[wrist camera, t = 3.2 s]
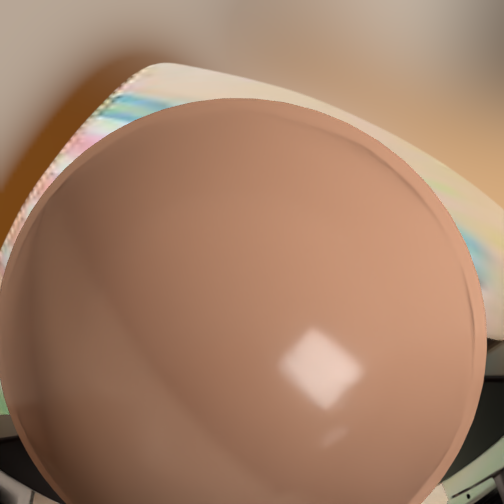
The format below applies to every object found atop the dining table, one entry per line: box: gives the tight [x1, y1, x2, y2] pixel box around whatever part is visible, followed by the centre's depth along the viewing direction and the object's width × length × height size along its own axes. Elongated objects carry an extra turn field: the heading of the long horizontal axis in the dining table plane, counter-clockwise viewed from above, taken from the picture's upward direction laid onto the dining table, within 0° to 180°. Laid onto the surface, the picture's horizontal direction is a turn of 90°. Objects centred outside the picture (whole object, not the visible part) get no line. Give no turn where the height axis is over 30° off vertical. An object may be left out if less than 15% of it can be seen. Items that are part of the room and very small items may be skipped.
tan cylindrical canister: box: [0, 98, 487, 504], centre depth 8 cm, size 6×6×13 cm
